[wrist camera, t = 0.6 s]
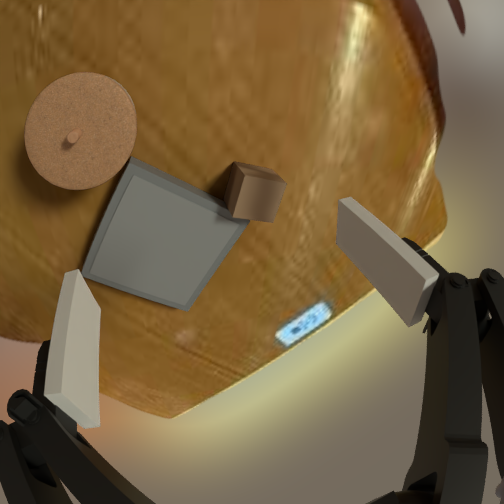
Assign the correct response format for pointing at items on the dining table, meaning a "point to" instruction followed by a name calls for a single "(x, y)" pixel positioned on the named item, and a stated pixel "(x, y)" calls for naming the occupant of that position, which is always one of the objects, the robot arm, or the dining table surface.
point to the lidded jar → (80, 130)
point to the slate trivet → (160, 237)
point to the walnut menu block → (253, 192)
